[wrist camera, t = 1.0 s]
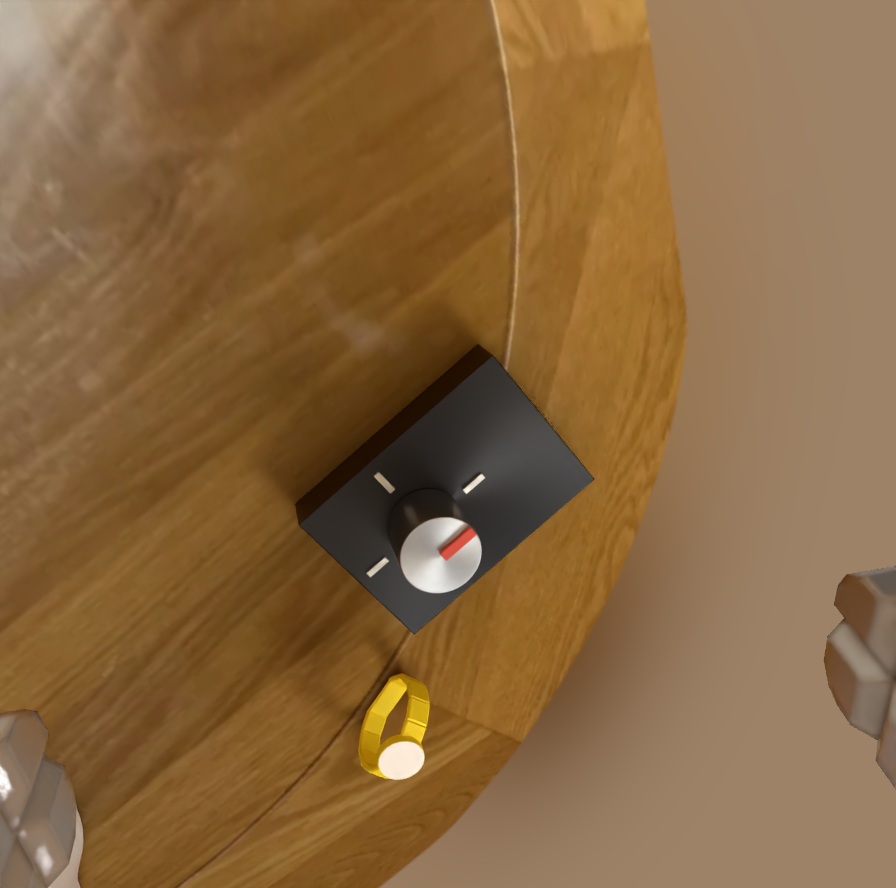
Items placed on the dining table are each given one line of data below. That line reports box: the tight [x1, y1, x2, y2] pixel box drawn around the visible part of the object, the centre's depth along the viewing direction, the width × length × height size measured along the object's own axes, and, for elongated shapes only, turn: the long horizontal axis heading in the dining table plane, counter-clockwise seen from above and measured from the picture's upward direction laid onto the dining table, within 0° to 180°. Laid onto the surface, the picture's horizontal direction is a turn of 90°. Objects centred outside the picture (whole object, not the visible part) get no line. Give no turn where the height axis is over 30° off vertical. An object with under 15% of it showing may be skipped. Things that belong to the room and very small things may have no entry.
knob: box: [387, 489, 482, 593], centre depth 46 cm, size 4×4×4 cm
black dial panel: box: [295, 344, 594, 634], centre depth 49 cm, size 14×10×3 cm
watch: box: [358, 673, 430, 780], centre depth 52 cm, size 6×3×6 cm, turn 147°
